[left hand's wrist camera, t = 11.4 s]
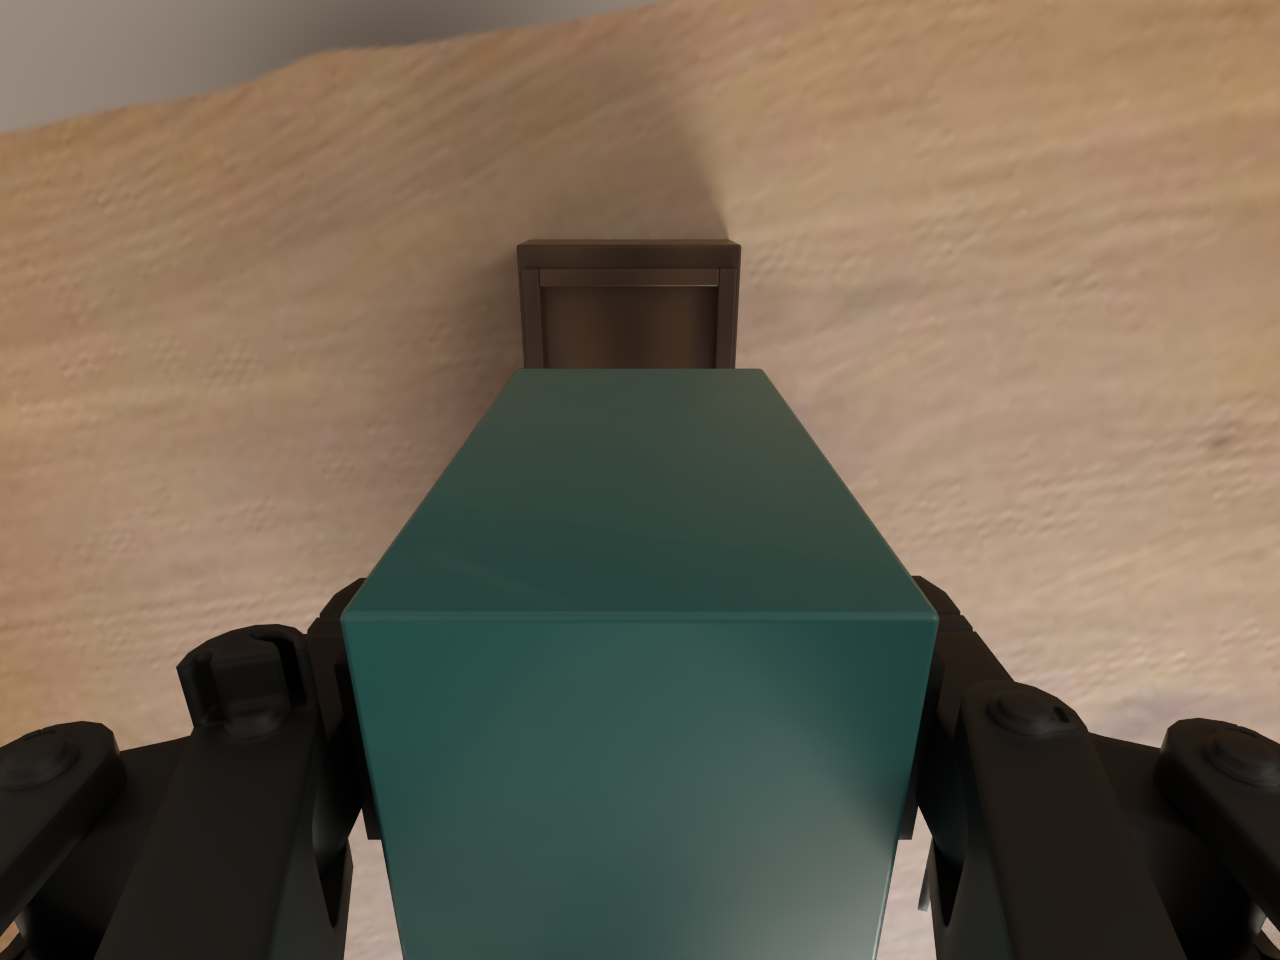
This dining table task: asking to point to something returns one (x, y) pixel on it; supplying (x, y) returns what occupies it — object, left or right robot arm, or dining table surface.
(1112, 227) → the dining table surface
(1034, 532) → the dining table surface
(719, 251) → the holder
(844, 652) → the cap block
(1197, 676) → the dining table surface
